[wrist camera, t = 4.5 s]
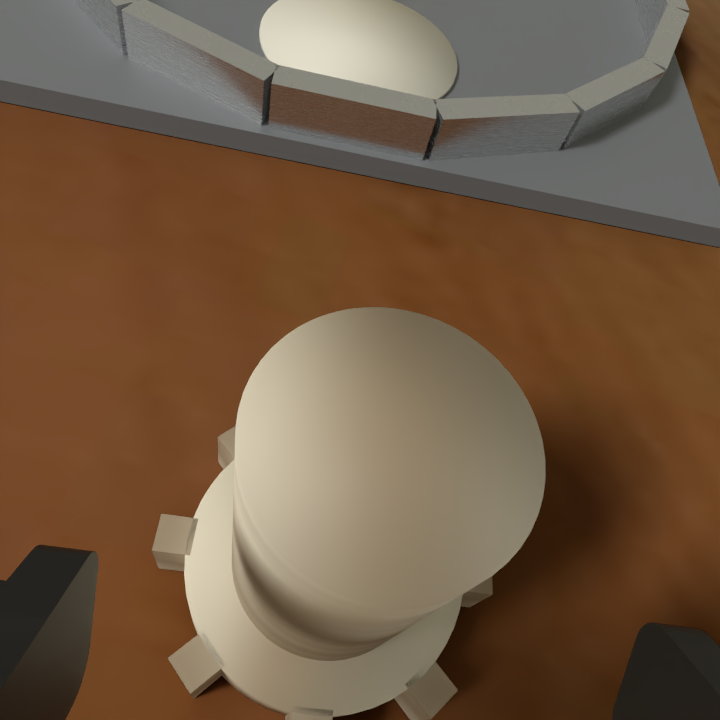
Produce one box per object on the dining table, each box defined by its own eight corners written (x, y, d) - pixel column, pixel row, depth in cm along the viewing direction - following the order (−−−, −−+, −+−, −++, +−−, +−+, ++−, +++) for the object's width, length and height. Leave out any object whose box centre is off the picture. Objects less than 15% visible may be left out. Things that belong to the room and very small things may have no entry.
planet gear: (467, 452, 20) (616, 272, 12) (471, 770, 15) (716, 801, 8) (198, 410, 19) (179, 187, 11) (116, 737, 14) (-8, 732, 7)
